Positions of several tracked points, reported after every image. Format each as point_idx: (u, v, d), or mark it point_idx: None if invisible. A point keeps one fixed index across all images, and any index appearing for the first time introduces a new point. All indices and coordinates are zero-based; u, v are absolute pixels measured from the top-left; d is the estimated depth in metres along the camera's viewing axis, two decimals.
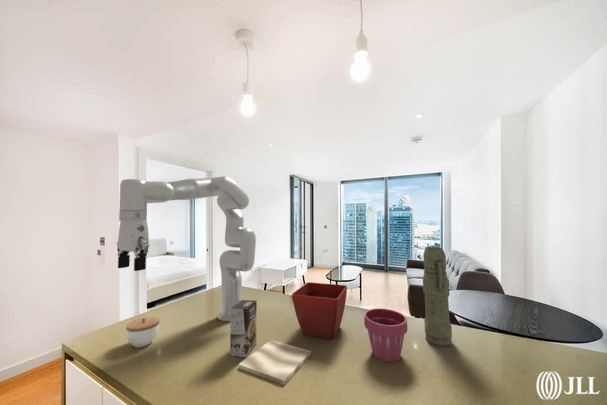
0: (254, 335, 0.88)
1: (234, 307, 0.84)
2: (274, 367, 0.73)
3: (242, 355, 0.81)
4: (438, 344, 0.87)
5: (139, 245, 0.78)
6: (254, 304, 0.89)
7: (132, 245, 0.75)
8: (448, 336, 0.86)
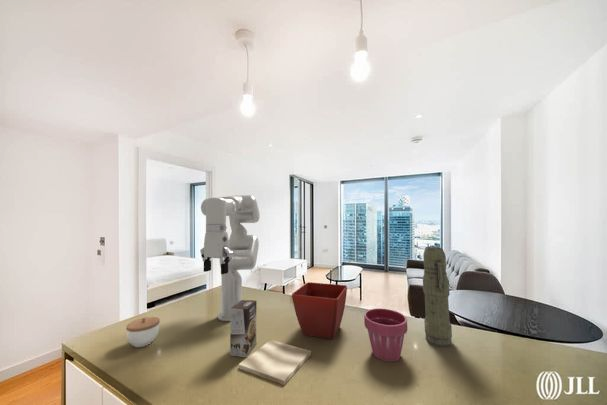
0: (254, 335, 0.88)
1: (234, 307, 0.84)
2: (274, 367, 0.73)
3: (242, 355, 0.81)
4: (438, 344, 0.87)
5: (222, 253, 0.93)
6: (254, 304, 0.89)
7: (219, 253, 0.91)
8: (448, 336, 0.86)
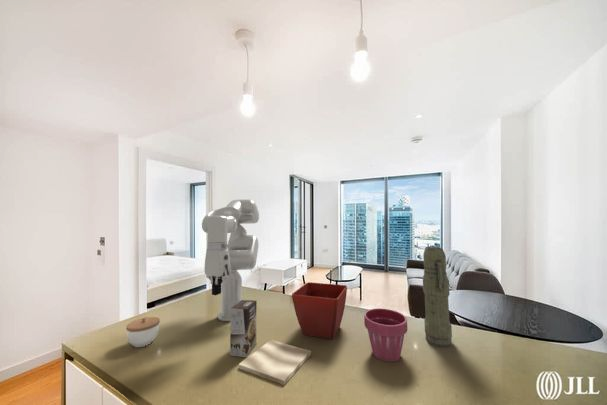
0: (254, 335, 0.88)
1: (234, 307, 0.84)
2: (274, 367, 0.73)
3: (242, 355, 0.81)
4: (438, 344, 0.87)
5: None
6: (254, 304, 0.89)
7: (220, 272, 0.90)
8: (448, 336, 0.86)
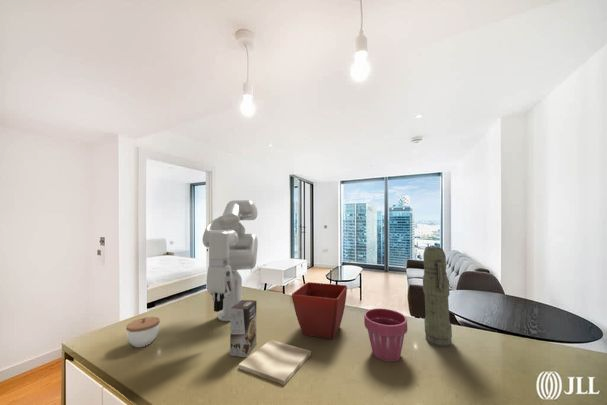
0: (254, 335, 0.88)
1: (234, 307, 0.84)
2: (274, 367, 0.73)
3: (242, 355, 0.81)
4: (438, 344, 0.87)
5: None
6: (254, 304, 0.89)
7: (222, 288, 0.90)
8: (448, 336, 0.86)
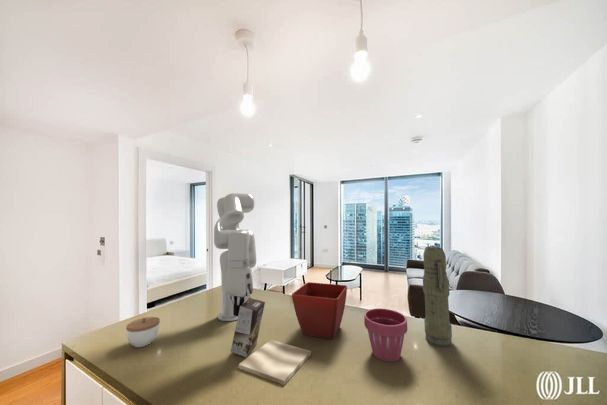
0: (256, 335, 0.88)
1: (243, 305, 0.83)
2: (274, 367, 0.73)
3: (242, 354, 0.81)
4: (438, 344, 0.87)
5: None
6: (262, 305, 0.88)
7: (243, 292, 0.85)
8: (448, 336, 0.86)
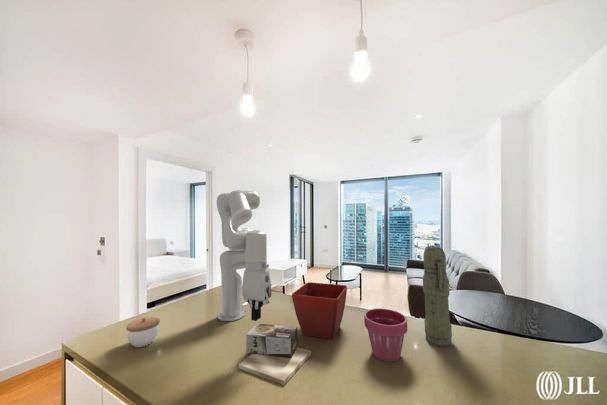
0: None
1: (291, 341, 0.79)
2: (274, 367, 0.73)
3: (247, 348, 0.81)
4: (438, 344, 0.87)
5: None
6: None
7: (262, 295, 0.81)
8: (448, 336, 0.86)
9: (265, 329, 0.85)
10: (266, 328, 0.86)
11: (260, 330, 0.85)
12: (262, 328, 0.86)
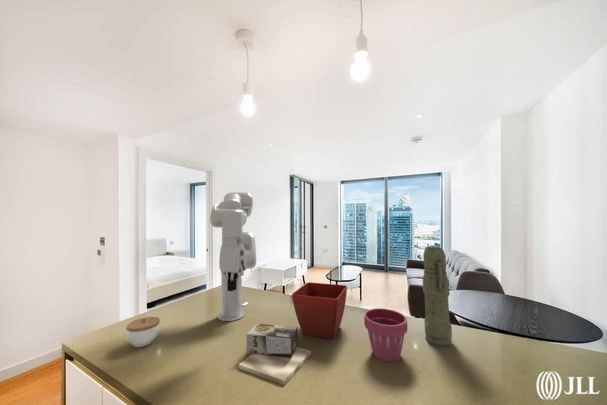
0: None
1: (291, 340, 0.79)
2: (274, 367, 0.73)
3: (247, 348, 0.81)
4: (438, 344, 0.87)
5: None
6: None
7: (236, 268, 0.87)
8: (448, 336, 0.86)
9: (265, 329, 0.85)
10: (266, 328, 0.86)
11: (261, 329, 0.85)
12: (262, 328, 0.86)
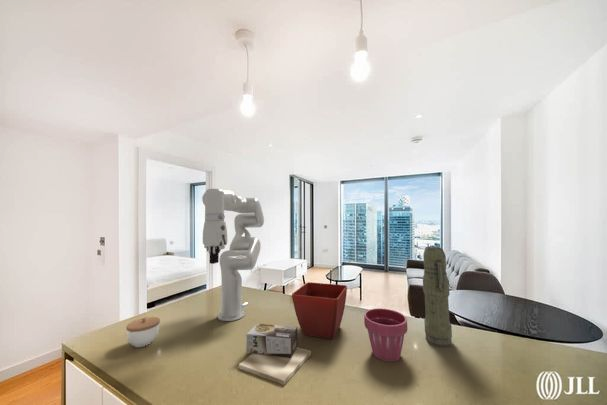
0: None
1: (291, 340, 0.79)
2: (274, 367, 0.73)
3: (247, 348, 0.81)
4: (438, 344, 0.87)
5: None
6: None
7: (217, 241, 0.95)
8: (448, 336, 0.86)
9: (265, 329, 0.85)
10: (266, 328, 0.86)
11: (261, 329, 0.85)
12: (262, 328, 0.86)
